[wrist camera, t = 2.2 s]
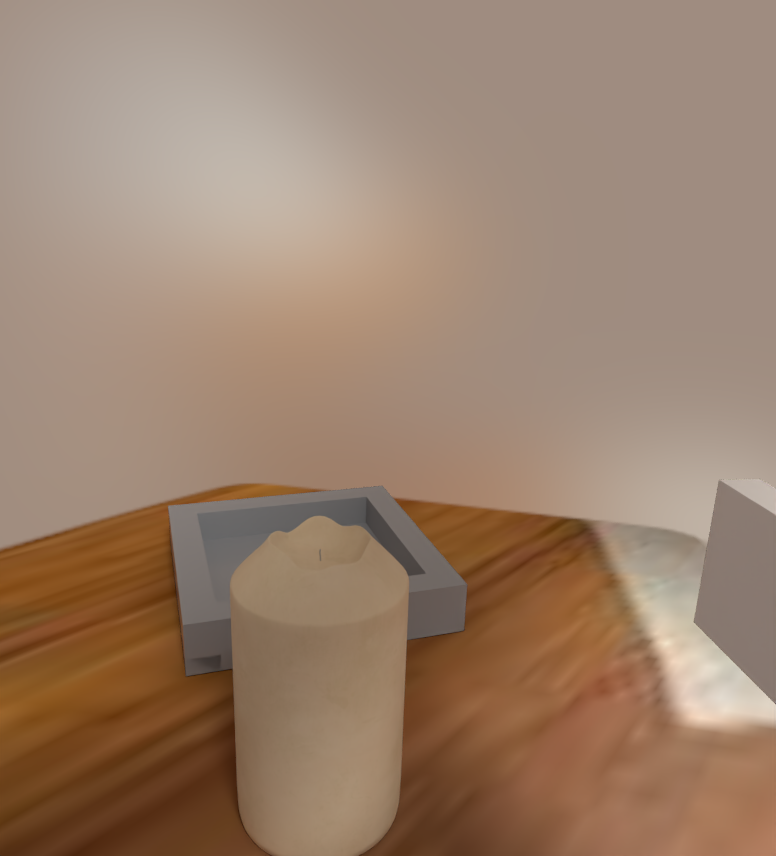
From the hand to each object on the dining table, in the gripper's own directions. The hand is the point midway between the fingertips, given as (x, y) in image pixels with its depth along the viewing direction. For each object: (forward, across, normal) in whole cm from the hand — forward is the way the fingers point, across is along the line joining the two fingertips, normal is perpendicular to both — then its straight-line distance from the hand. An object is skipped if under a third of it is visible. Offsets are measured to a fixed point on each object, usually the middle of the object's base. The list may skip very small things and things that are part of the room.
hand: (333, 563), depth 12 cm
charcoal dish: (+25, +1, -14) cm, 29 cm away
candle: (+10, +1, -14) cm, 17 cm away
